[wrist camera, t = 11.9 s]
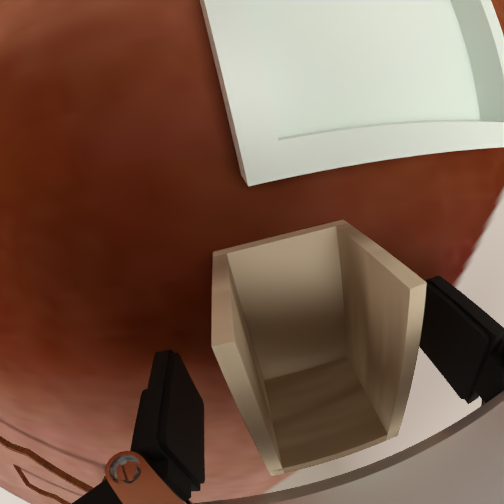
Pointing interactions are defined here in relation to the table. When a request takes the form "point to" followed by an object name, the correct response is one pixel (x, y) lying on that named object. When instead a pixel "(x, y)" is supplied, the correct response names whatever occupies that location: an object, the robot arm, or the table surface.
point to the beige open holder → (316, 341)
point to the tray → (355, 80)
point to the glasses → (48, 467)
